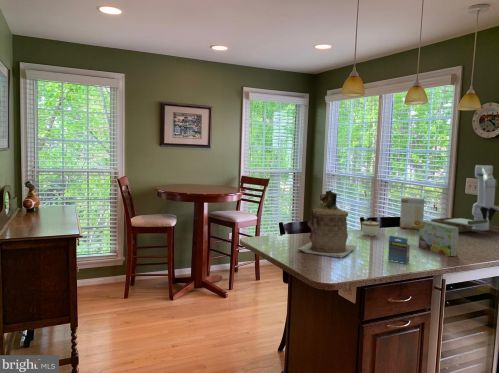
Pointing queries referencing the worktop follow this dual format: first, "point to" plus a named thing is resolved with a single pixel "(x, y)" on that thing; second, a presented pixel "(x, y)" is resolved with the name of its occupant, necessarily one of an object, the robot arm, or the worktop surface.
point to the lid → (467, 221)
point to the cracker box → (411, 212)
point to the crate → (453, 224)
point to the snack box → (438, 237)
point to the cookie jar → (328, 229)
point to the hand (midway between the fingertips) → (487, 219)
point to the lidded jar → (370, 228)
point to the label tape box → (398, 249)
